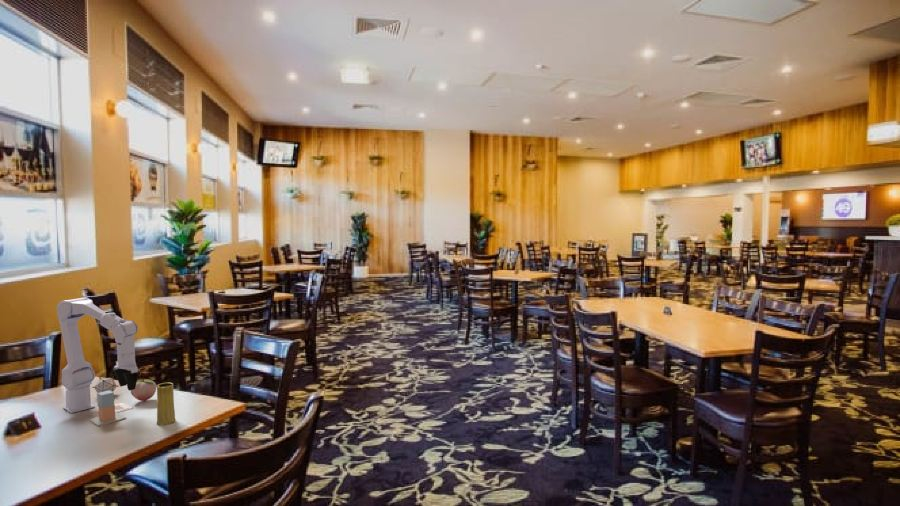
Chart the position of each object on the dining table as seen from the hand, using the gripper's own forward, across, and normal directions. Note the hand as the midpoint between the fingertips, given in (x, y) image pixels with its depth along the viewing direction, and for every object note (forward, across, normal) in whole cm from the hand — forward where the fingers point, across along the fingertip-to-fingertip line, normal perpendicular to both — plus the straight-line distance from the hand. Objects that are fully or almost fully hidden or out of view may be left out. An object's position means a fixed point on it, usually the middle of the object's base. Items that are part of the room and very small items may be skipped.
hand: (127, 387), depth 193 cm
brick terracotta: (+10, 0, -7) cm, 12 cm away
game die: (+11, -30, +3) cm, 32 cm away
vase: (+11, +20, +5) cm, 23 cm away
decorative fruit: (+11, -10, +10) cm, 18 cm away
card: (+10, -10, 0) cm, 14 cm away
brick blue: (+5, 0, -7) cm, 9 cm away
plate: (+10, 0, -7) cm, 13 cm away
